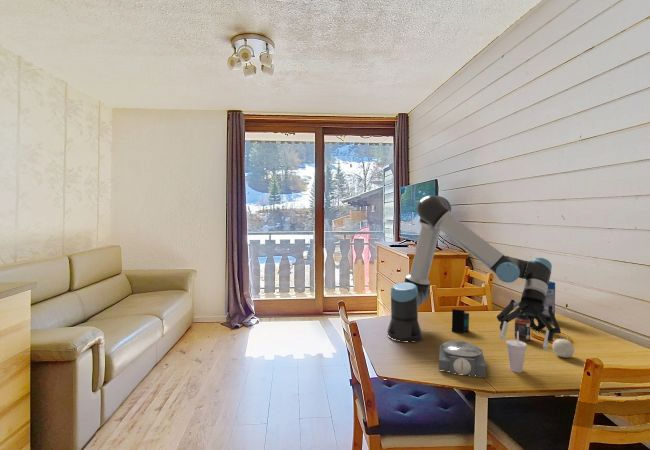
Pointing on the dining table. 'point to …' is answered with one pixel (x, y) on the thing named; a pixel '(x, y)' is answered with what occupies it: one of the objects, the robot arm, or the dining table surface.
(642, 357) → the dining table surface
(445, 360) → the scale base
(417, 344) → the dining table surface
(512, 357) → the smoothie
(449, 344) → the scale pan
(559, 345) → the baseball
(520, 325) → the supplement bottle
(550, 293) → the milk carton
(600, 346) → the dining table surface
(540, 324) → the controller
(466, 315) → the speaker
